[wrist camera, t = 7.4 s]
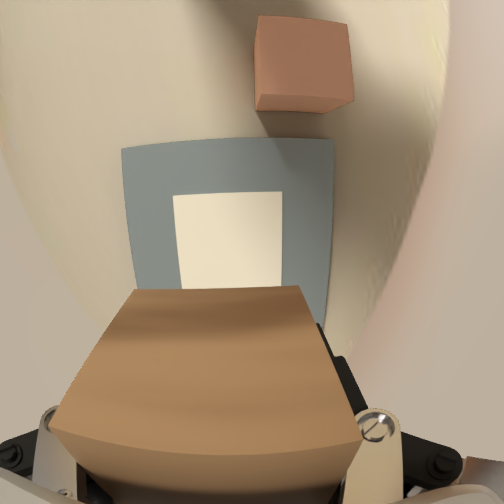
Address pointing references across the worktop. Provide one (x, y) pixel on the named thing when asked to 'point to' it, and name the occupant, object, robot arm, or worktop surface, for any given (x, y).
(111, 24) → the worktop surface
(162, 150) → the baseplate
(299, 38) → the terracotta block
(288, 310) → the walnut block
